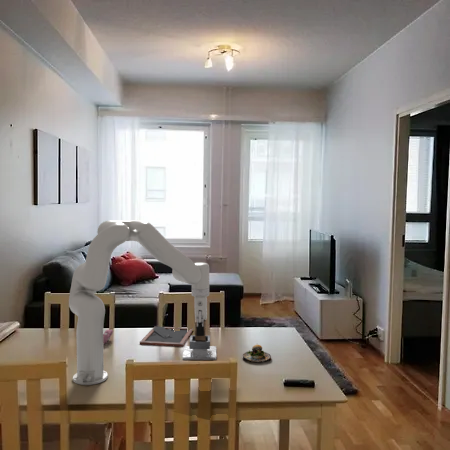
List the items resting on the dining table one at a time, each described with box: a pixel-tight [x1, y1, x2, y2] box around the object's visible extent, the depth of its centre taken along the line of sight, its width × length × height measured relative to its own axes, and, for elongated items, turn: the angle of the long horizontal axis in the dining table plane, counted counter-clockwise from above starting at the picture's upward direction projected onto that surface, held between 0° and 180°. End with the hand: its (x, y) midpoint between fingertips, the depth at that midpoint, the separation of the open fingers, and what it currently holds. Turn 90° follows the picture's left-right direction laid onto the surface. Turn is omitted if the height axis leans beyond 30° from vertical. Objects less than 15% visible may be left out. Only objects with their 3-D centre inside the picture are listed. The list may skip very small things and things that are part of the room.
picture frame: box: [139, 325, 193, 348], centre depth 229 cm, size 20×2×25 cm
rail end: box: [194, 319, 207, 340], centre depth 206 cm, size 4×4×8 cm
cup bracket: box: [182, 334, 217, 361], centre depth 206 cm, size 14×14×7 cm
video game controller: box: [103, 329, 114, 345], centre depth 220 cm, size 10×5×7 cm, turn 179°
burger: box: [242, 344, 272, 363], centre depth 201 cm, size 12×12×8 cm
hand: (200, 333), depth 206 cm, fingers closed on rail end, 4 cm apart
